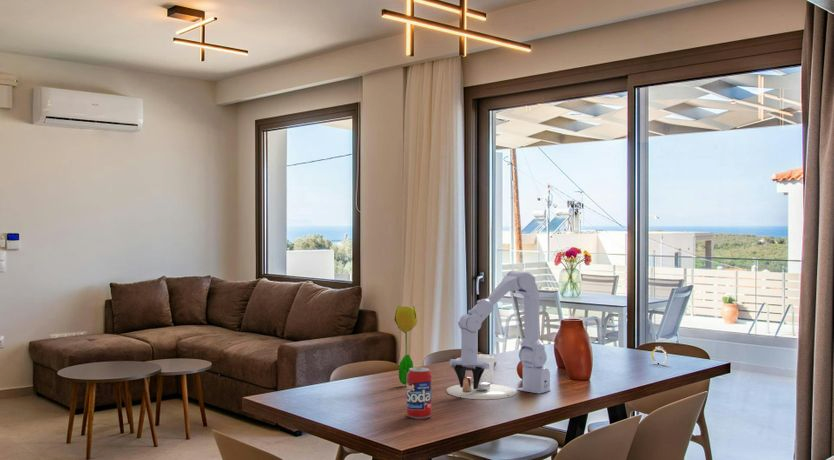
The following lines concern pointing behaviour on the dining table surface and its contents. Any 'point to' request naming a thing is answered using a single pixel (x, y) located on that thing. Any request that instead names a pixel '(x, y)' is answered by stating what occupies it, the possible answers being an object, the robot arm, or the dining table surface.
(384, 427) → the dining table surface
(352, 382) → the dining table surface
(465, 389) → the white and tan pieces
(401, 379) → the flower
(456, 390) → the white plate
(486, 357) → the white cup
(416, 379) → the soda can
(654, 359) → the ring
